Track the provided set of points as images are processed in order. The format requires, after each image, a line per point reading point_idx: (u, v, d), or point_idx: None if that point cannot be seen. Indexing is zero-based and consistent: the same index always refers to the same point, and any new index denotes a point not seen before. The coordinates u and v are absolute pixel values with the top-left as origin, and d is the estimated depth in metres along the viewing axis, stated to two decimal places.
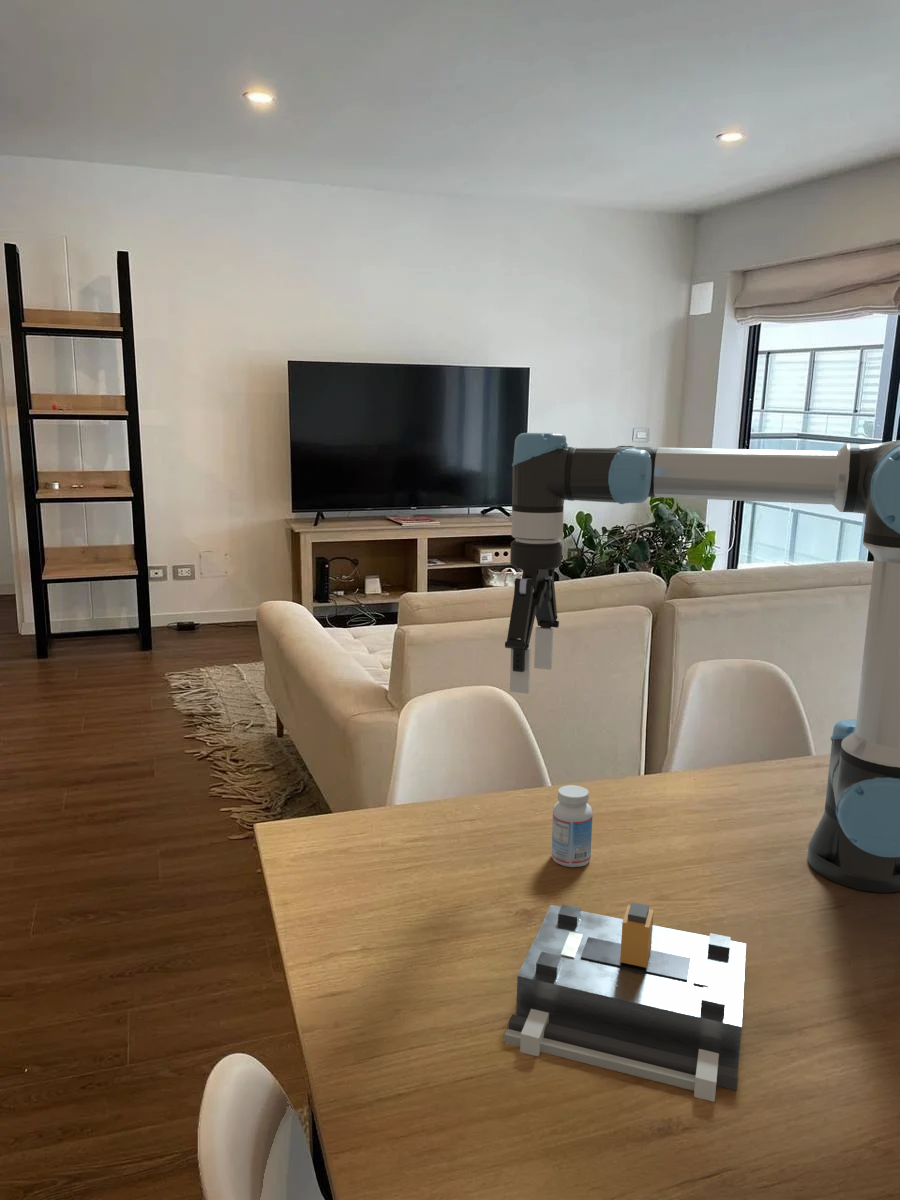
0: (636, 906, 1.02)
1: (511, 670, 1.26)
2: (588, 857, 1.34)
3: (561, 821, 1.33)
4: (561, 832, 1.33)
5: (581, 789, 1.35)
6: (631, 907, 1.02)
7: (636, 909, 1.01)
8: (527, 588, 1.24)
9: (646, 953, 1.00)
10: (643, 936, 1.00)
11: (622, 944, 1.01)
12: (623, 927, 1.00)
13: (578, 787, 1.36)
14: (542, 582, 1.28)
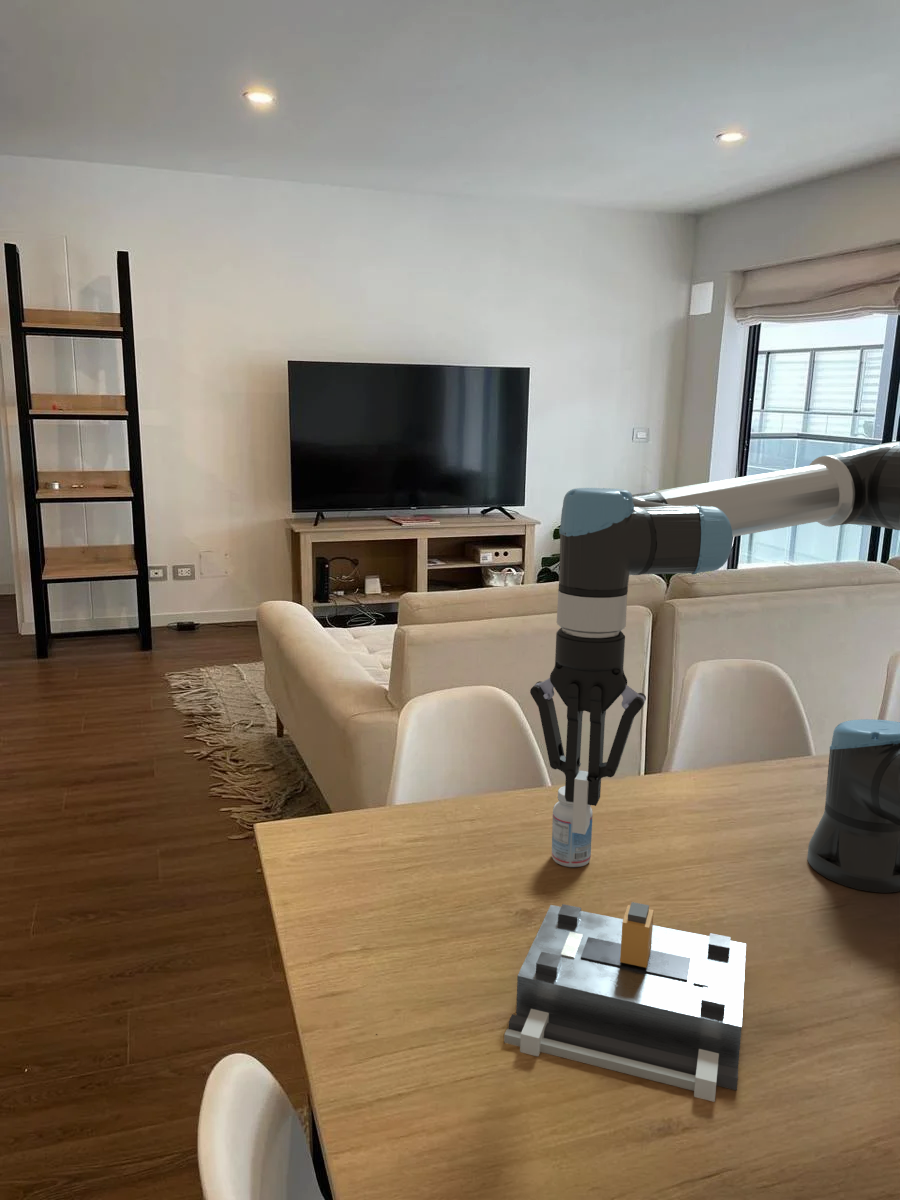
0: (636, 906, 1.02)
1: None
2: (588, 857, 1.34)
3: (561, 821, 1.33)
4: (561, 832, 1.33)
5: None
6: (631, 907, 1.02)
7: (636, 909, 1.01)
8: None
9: (646, 953, 1.00)
10: (643, 936, 1.00)
11: (622, 944, 1.01)
12: (623, 927, 1.00)
13: None
14: (569, 685, 0.98)
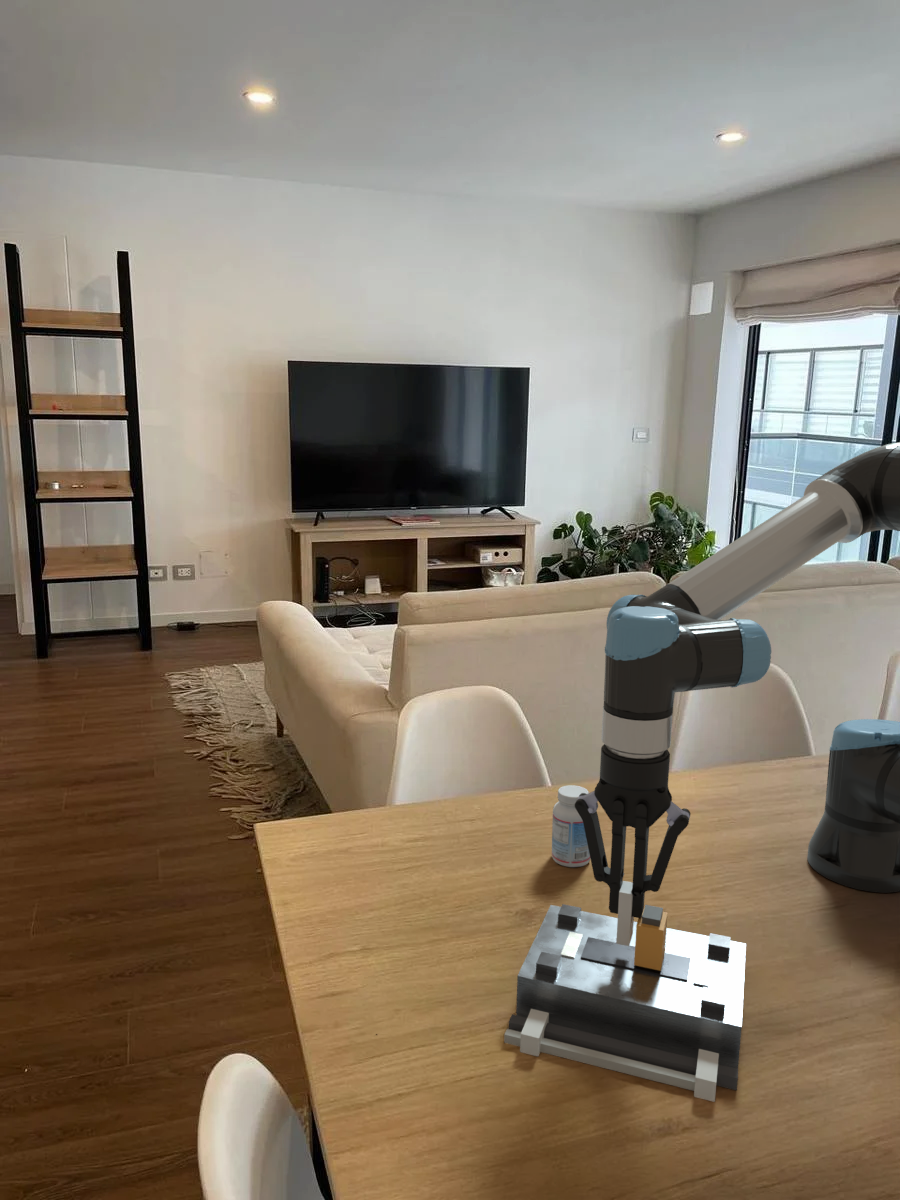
0: (650, 909, 1.01)
1: None
2: (588, 857, 1.34)
3: (561, 821, 1.33)
4: (561, 832, 1.33)
5: (581, 789, 1.35)
6: (645, 910, 1.01)
7: (650, 912, 1.01)
8: None
9: (660, 956, 0.99)
10: (657, 939, 0.99)
11: (636, 947, 1.00)
12: (637, 930, 1.00)
13: (578, 787, 1.36)
14: (614, 802, 0.98)
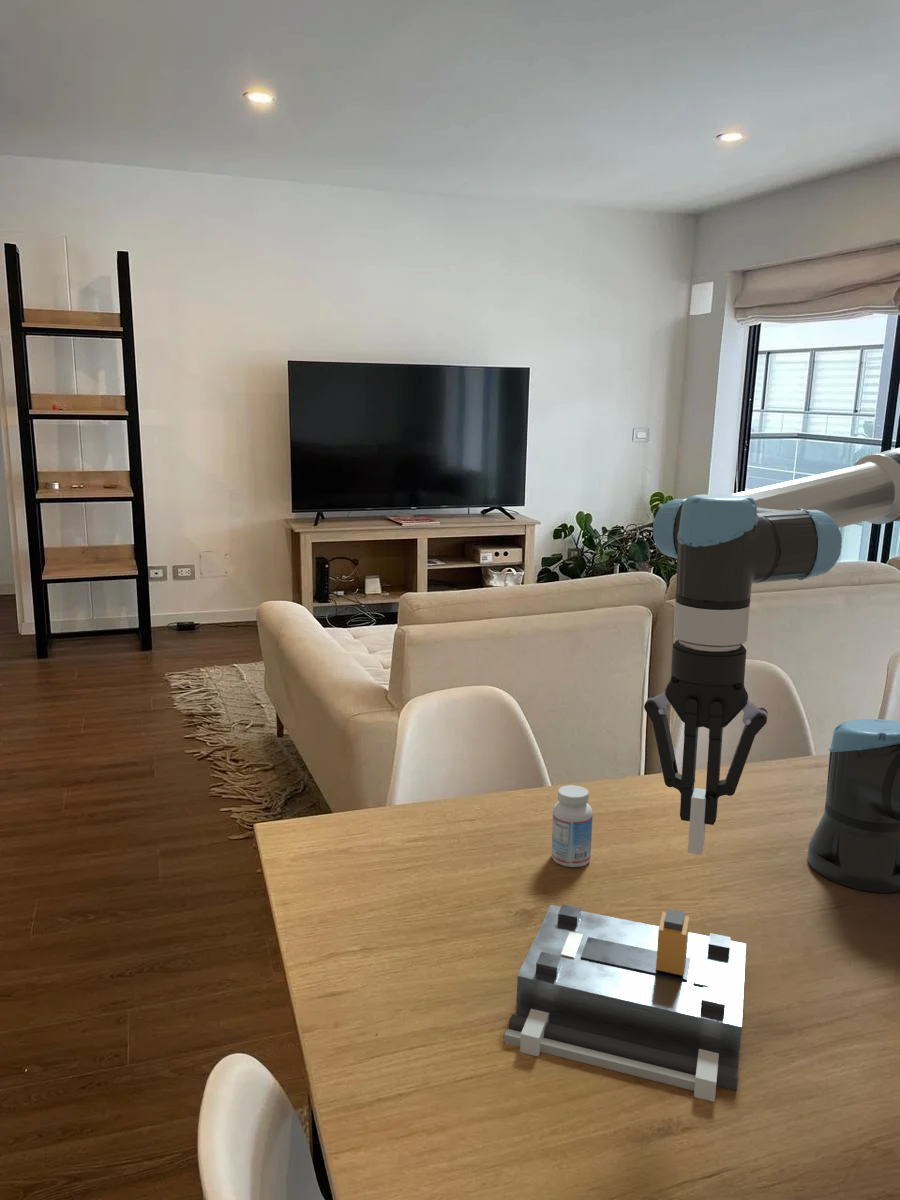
0: (672, 913, 1.01)
1: None
2: (588, 857, 1.34)
3: (561, 821, 1.33)
4: (561, 832, 1.33)
5: (581, 789, 1.35)
6: (667, 914, 1.00)
7: (672, 916, 1.00)
8: None
9: (683, 961, 0.98)
10: (680, 943, 0.98)
11: (658, 951, 0.99)
12: (659, 934, 0.99)
13: (578, 787, 1.36)
14: (686, 701, 0.94)
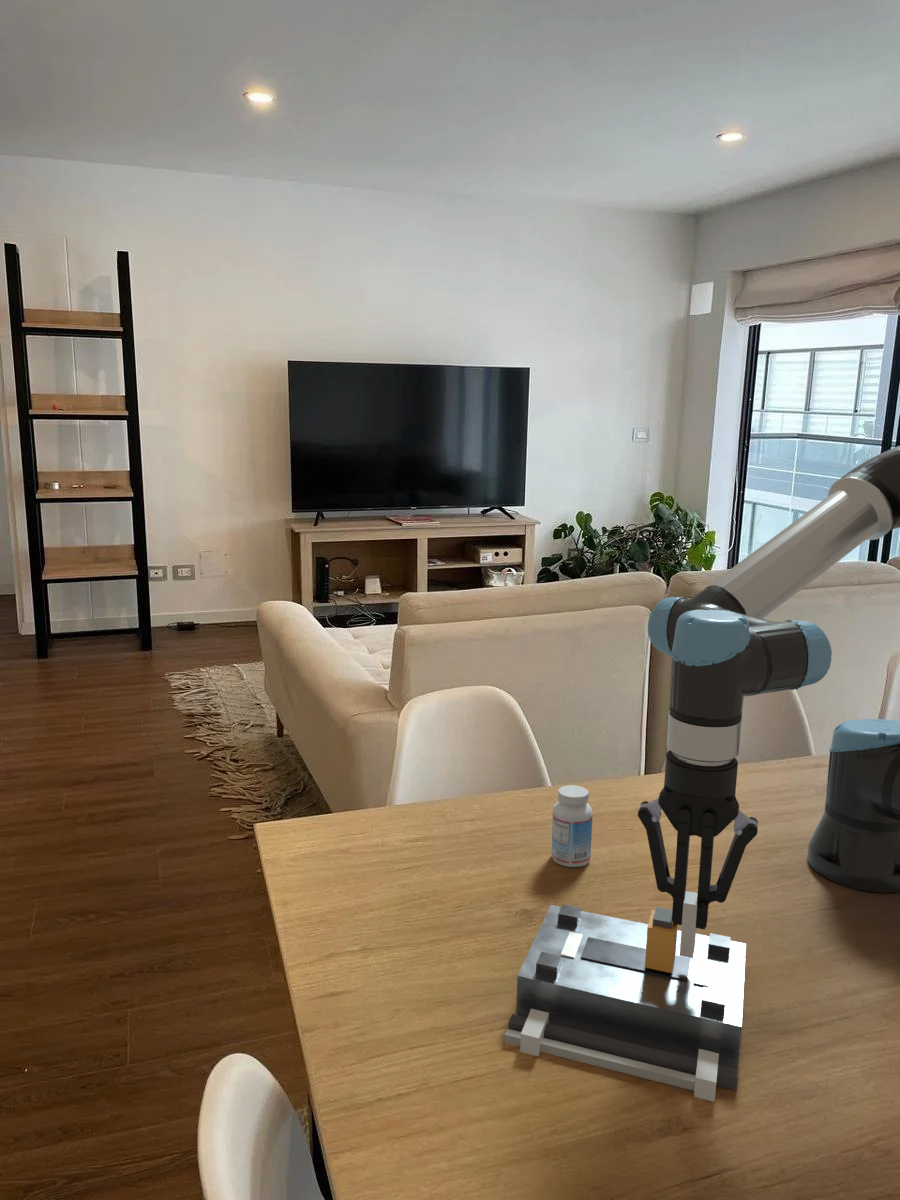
0: (661, 911, 1.01)
1: None
2: (588, 857, 1.34)
3: (561, 821, 1.33)
4: (561, 832, 1.33)
5: (581, 789, 1.35)
6: (656, 912, 1.01)
7: (661, 914, 1.00)
8: None
9: (671, 958, 0.99)
10: (668, 941, 0.99)
11: (647, 949, 1.00)
12: (648, 932, 0.99)
13: (578, 787, 1.36)
14: (679, 810, 0.96)
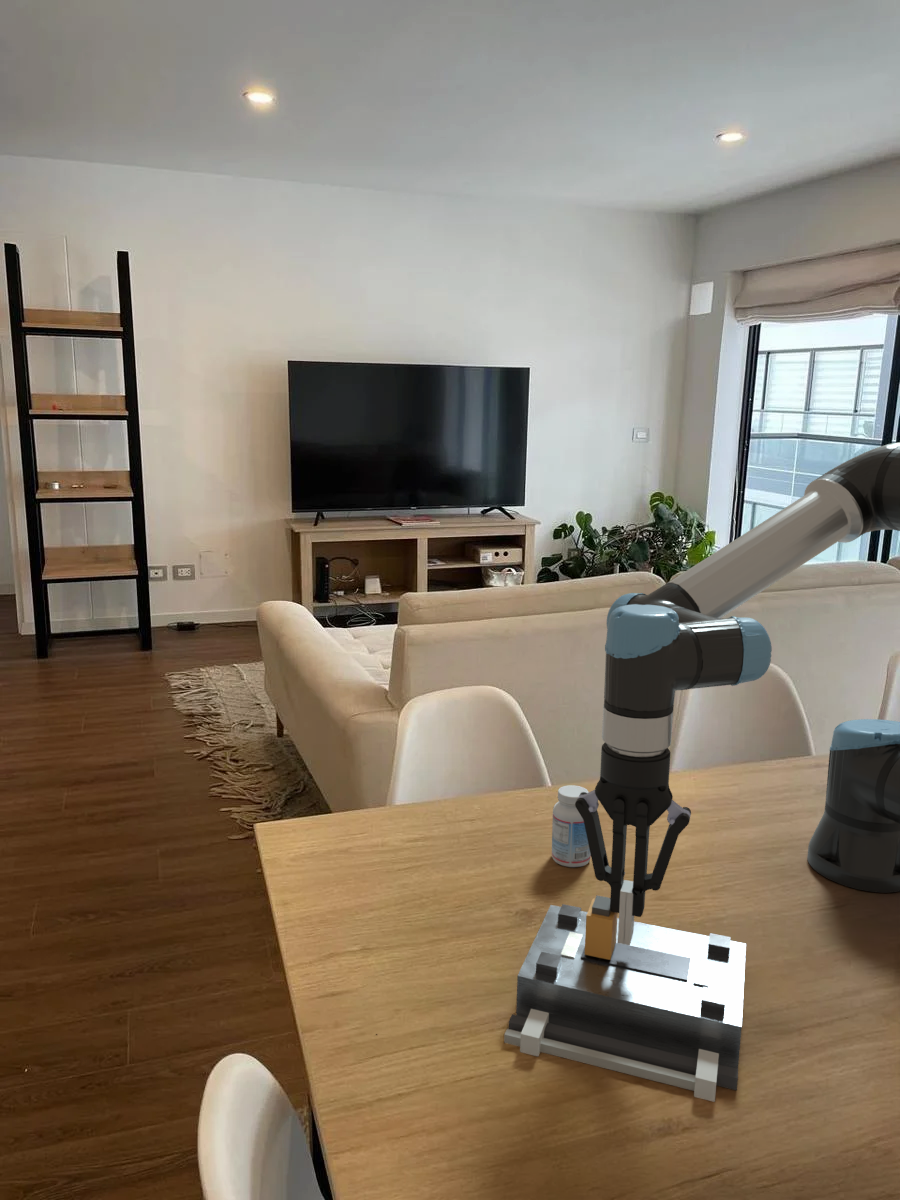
0: (600, 899, 1.03)
1: None
2: (588, 857, 1.34)
3: (561, 821, 1.33)
4: (561, 832, 1.33)
5: (581, 789, 1.35)
6: (595, 900, 1.03)
7: (600, 902, 1.03)
8: None
9: (610, 945, 1.01)
10: (606, 928, 1.01)
11: (586, 937, 1.02)
12: (587, 920, 1.02)
13: (578, 787, 1.36)
14: (614, 800, 0.98)
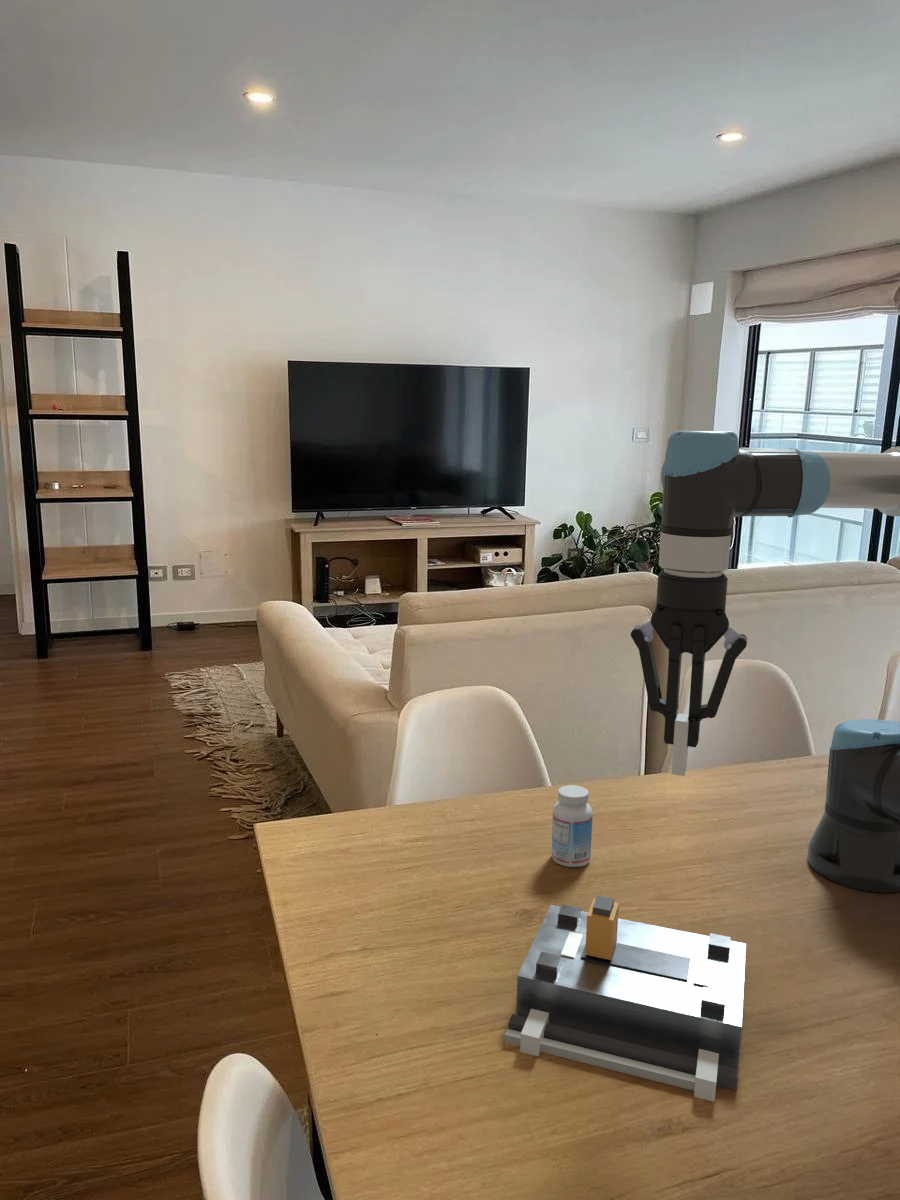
0: (601, 899, 1.03)
1: None
2: (588, 857, 1.34)
3: (561, 821, 1.33)
4: (561, 832, 1.33)
5: (581, 789, 1.35)
6: (596, 900, 1.03)
7: (601, 902, 1.03)
8: None
9: (610, 946, 1.01)
10: (607, 929, 1.01)
11: (587, 937, 1.02)
12: (588, 920, 1.01)
13: (578, 787, 1.36)
14: (671, 627, 0.99)
